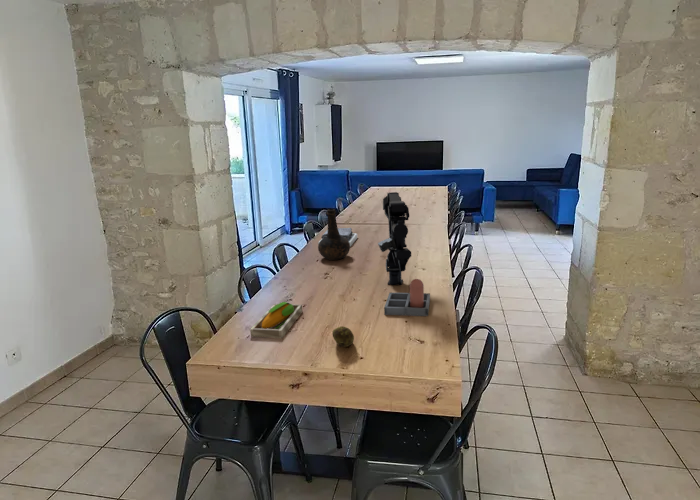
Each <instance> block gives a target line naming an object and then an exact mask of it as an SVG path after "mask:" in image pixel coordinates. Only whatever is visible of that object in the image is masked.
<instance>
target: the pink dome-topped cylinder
mask: <svg viewBox="0 0 700 500" xmlns="http://www.w3.org/2000/svg"><path fill="white" fill-rule="evenodd" d="M423 282H424V281H422V280H421V279H419V278H413V279H412V280H411V281H410V283H409V293H410V307H412V308H424V293H425V292H424V291H425V290H424V289H425V288H424V287H425V286H424V283H423Z"/></svg>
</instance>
